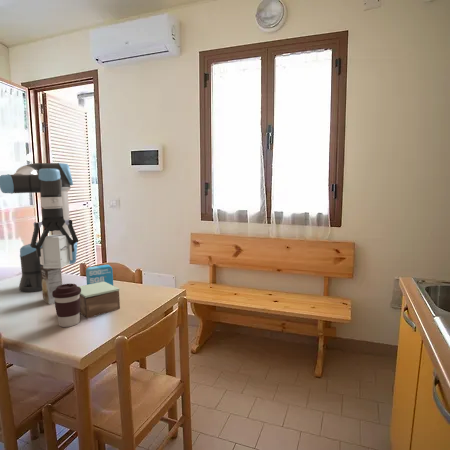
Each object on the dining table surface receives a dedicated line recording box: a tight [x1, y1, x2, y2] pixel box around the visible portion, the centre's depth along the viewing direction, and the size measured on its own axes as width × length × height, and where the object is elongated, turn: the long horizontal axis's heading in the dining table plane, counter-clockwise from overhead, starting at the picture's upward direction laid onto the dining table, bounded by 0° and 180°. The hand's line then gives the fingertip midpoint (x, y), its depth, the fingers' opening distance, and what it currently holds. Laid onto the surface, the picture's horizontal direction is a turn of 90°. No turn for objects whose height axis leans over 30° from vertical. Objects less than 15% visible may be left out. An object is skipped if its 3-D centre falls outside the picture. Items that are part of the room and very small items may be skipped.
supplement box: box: [42, 234, 71, 269], centre depth 133 cm, size 7×7×13 cm
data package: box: [85, 264, 114, 286], centre depth 165 cm, size 12×4×12 cm, turn 122°
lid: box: [77, 282, 120, 298], centre depth 139 cm, size 15×14×1 cm
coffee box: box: [40, 266, 63, 305], centre depth 151 cm, size 9×6×16 cm
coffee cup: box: [52, 283, 81, 328], centre depth 125 cm, size 10×10×15 cm
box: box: [80, 290, 121, 319], centre depth 140 cm, size 14×14×8 cm
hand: (56, 262), depth 133 cm, fingers closed on supplement box, 10 cm apart
